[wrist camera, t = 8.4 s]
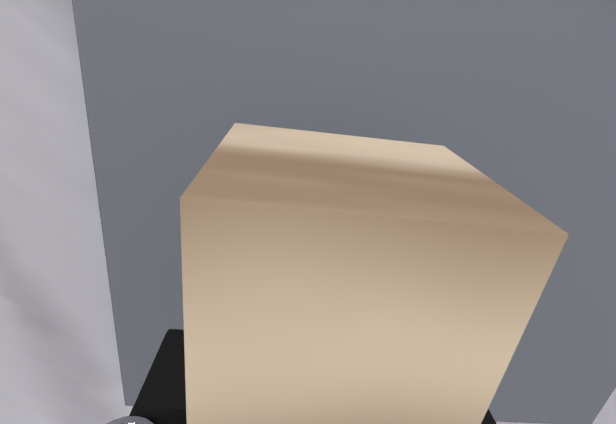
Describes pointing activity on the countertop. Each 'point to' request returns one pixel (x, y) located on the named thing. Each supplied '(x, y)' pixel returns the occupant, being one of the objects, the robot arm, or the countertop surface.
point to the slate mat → (373, 124)
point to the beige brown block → (352, 281)
